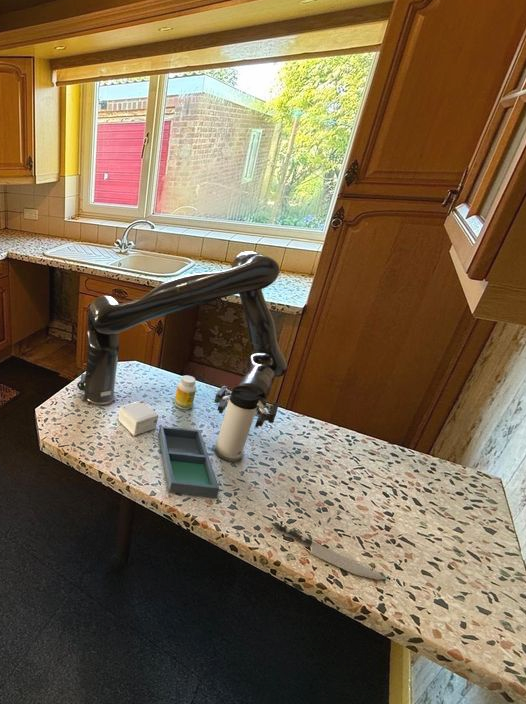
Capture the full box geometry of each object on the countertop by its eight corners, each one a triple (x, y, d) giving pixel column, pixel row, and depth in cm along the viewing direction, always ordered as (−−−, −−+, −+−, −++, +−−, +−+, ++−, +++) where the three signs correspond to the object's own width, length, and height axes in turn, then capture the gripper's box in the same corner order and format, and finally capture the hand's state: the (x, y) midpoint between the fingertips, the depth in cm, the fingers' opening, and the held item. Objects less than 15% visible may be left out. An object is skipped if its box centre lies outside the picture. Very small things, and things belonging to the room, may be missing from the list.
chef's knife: (386, 593, 73) (386, 579, 75) (389, 589, 73) (389, 576, 75) (271, 535, 83) (273, 524, 85) (272, 531, 83) (275, 521, 85)
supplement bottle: (179, 397, 127) (184, 372, 123) (195, 404, 124) (201, 378, 119) (170, 404, 124) (176, 378, 119) (187, 412, 120) (193, 385, 116)
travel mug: (244, 463, 102) (266, 400, 92) (217, 459, 103) (235, 396, 94) (238, 446, 107) (258, 385, 98) (212, 443, 108) (230, 381, 99)
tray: (169, 492, 93) (171, 482, 92) (158, 434, 111) (159, 425, 110) (216, 497, 92) (219, 488, 91) (197, 438, 110) (199, 429, 109)
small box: (134, 436, 110) (136, 422, 108) (117, 420, 117) (119, 405, 115) (156, 429, 113) (159, 414, 111) (139, 413, 120) (141, 399, 117)
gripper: (230, 368, 113) (212, 394, 102) (287, 386, 105) (274, 416, 94) (224, 390, 116) (206, 417, 105) (279, 409, 108) (266, 441, 97)
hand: (238, 417), depth 99 cm, fingers open, 8 cm apart
